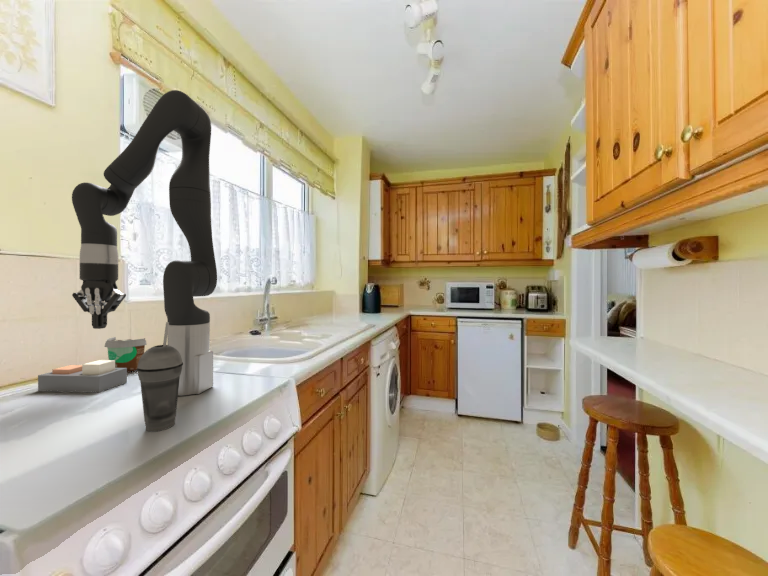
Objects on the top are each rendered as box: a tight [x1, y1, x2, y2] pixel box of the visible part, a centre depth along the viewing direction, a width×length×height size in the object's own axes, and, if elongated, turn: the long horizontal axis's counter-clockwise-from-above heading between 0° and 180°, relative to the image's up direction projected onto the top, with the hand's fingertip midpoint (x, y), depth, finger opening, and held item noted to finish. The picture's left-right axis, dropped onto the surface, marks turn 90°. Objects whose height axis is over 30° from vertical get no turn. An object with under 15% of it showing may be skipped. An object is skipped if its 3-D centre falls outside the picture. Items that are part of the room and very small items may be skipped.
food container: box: [104, 336, 148, 373], centre depth 97 cm, size 12×6×10 cm, turn 81°
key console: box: [37, 368, 128, 393], centre depth 82 cm, size 16×8×4 cm, turn 88°
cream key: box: [81, 359, 115, 375], centre depth 82 cm, size 4×4×4 cm
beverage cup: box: [136, 321, 183, 432], centre depth 60 cm, size 7×7×20 cm
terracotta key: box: [51, 364, 82, 374], centre depth 82 cm, size 4×4×4 cm
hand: (99, 328), depth 82 cm, fingers closed
